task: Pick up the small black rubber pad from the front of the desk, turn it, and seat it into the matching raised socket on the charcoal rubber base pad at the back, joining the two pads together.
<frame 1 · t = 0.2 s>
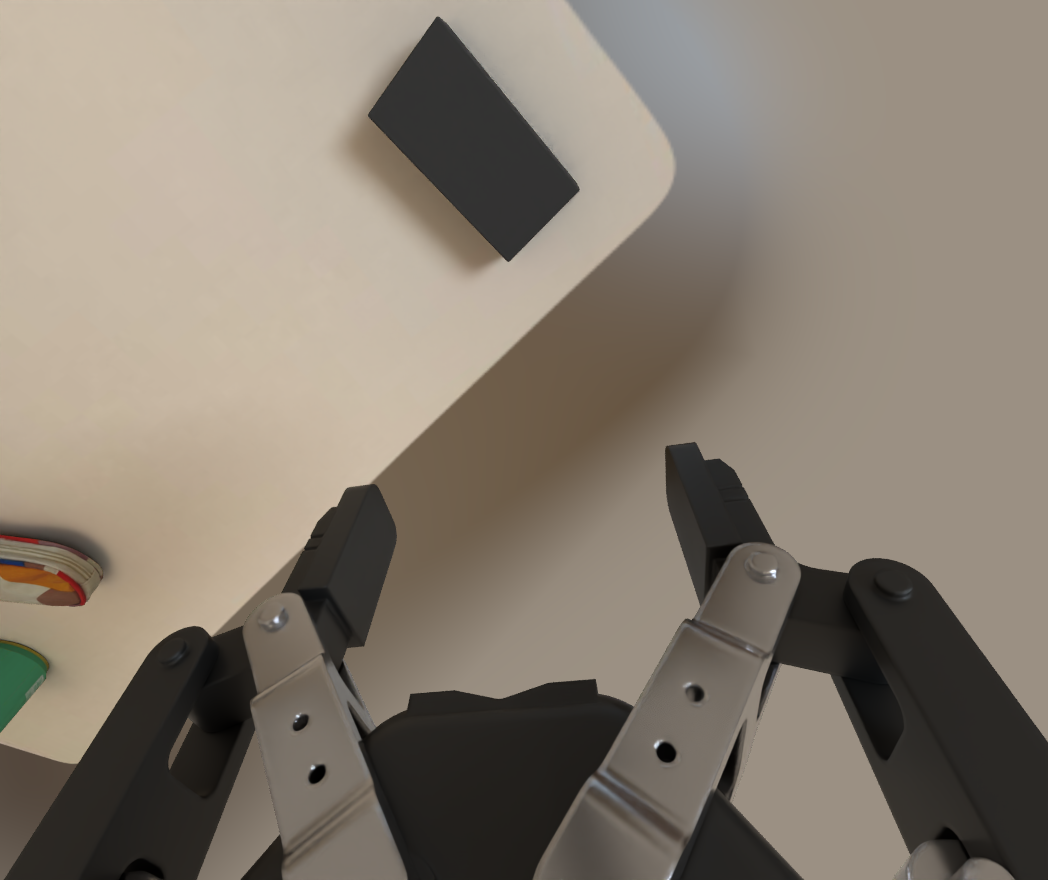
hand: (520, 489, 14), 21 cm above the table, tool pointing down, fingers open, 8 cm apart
pencil case: (0, 543, 47), on the table
black pad: (481, 149, 28), on the table
beverage can: (16, 656, 58), on the table
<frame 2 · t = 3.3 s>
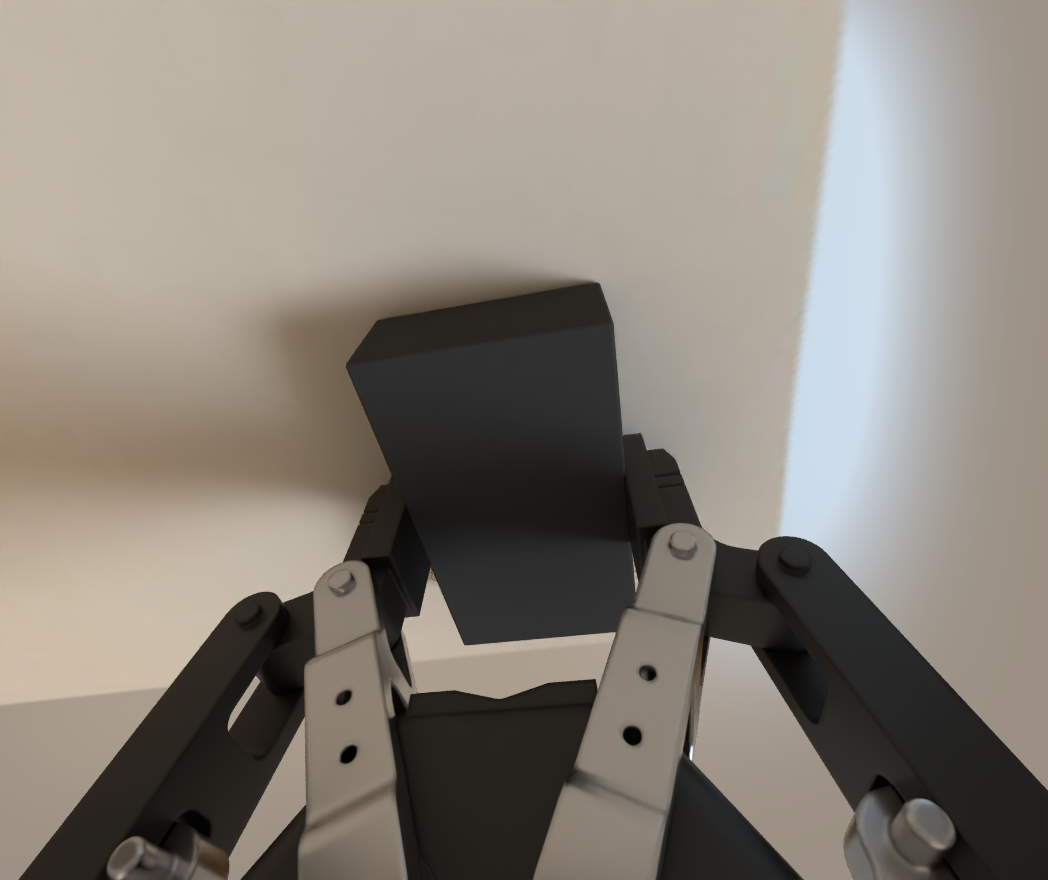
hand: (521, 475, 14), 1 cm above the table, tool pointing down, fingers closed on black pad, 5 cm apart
black pad: (522, 464, 15), on the table, touching gripper
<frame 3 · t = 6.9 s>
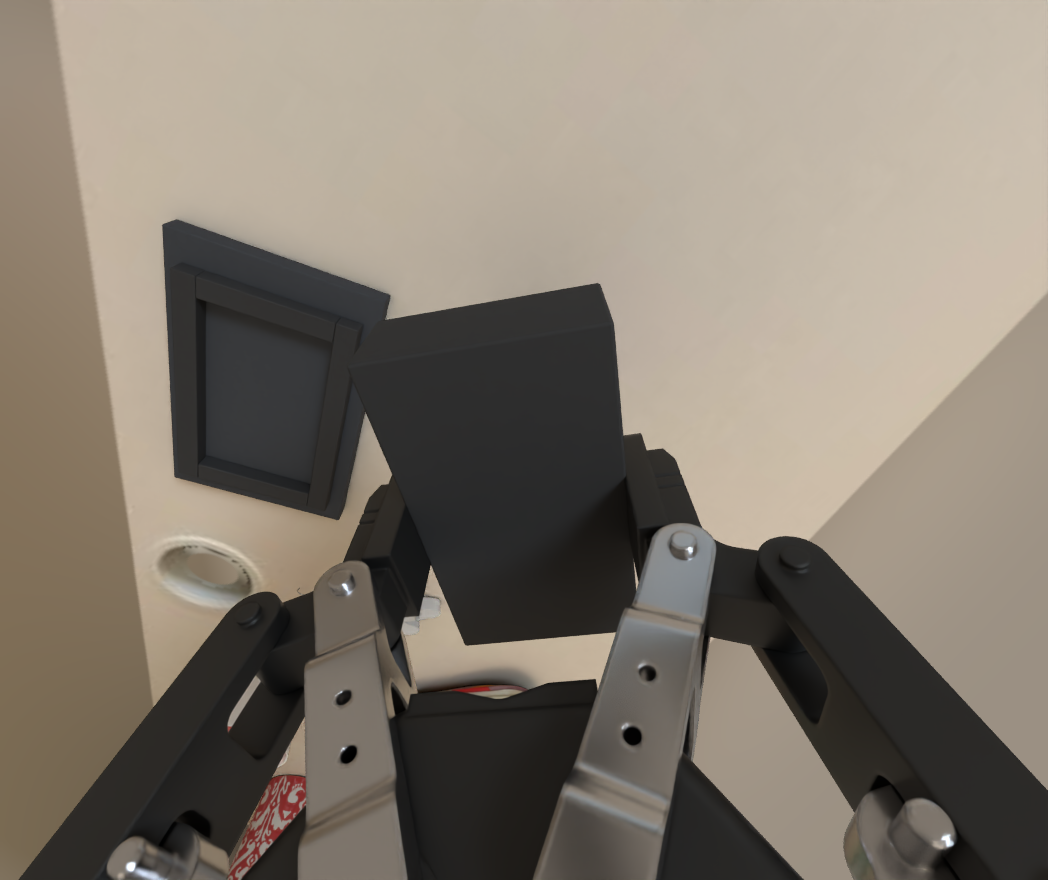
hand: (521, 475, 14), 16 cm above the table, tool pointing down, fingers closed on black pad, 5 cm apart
base pad: (275, 390, 31), on the table
candle: (268, 679, 50), on the table
pencil case: (442, 694, 51), on the table
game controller: (372, 590, 42), on the table
mug: (310, 787, 65), on the table
black pad: (523, 464, 15), point 15 cm above the table, touching gripper
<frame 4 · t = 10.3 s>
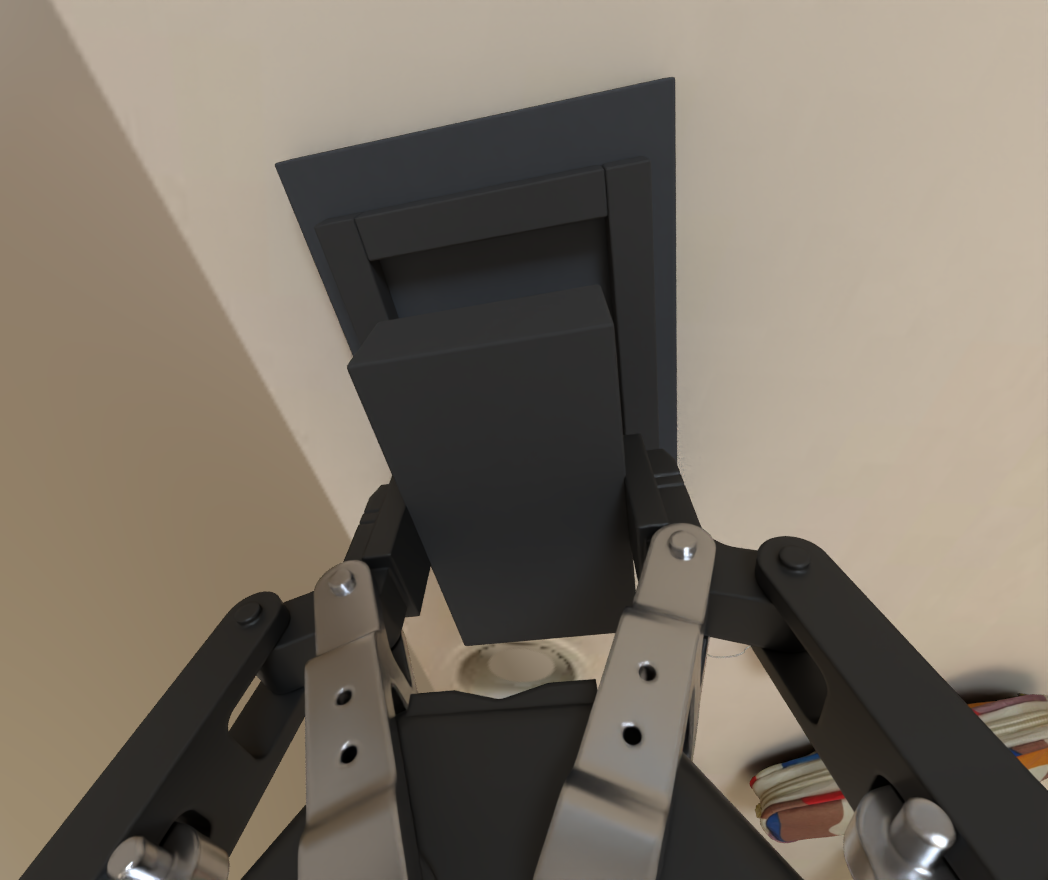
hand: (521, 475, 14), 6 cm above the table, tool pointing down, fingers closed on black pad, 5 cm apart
base pad: (522, 381, 19), on the table
pencil case: (872, 731, 34), on the table
black pad: (522, 465, 15), point 5 cm above the table, touching gripper
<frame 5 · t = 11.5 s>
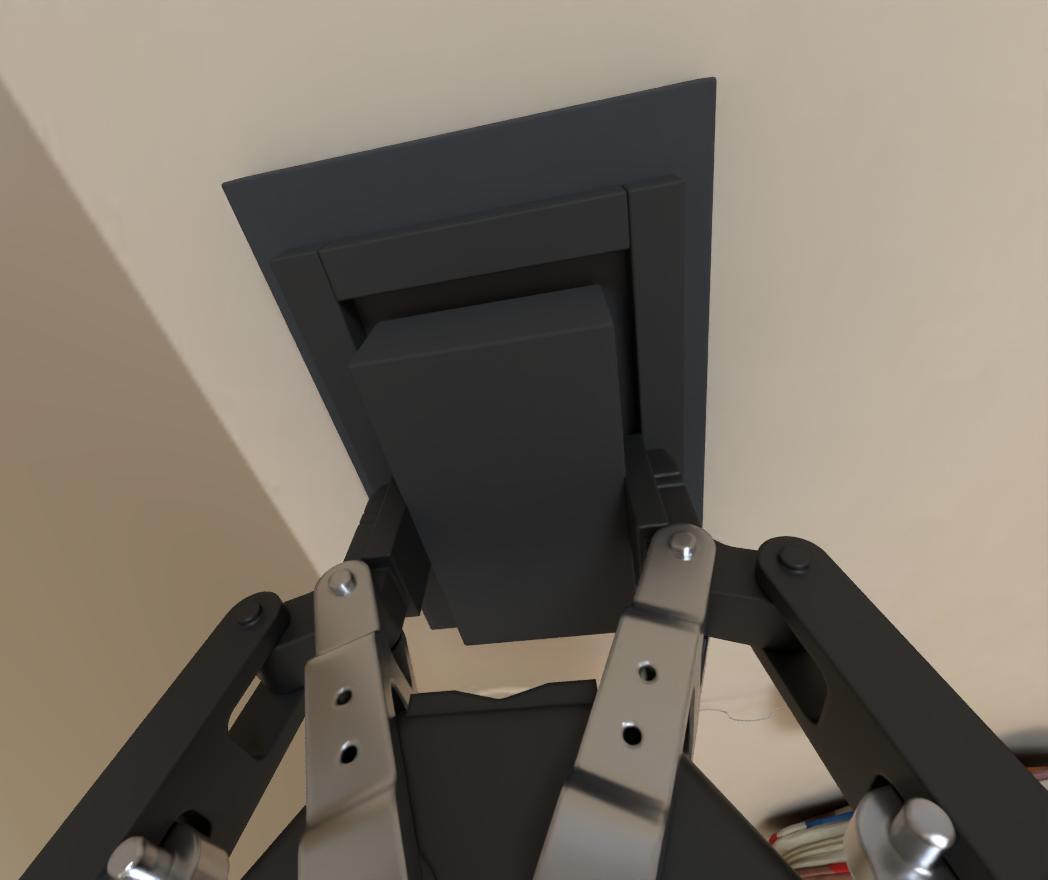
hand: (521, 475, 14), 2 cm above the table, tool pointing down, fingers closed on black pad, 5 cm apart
base pad: (524, 429, 16), on the table
pencil case: (903, 787, 32), on the table
black pad: (522, 465, 15), point 2 cm above the table, touching gripper
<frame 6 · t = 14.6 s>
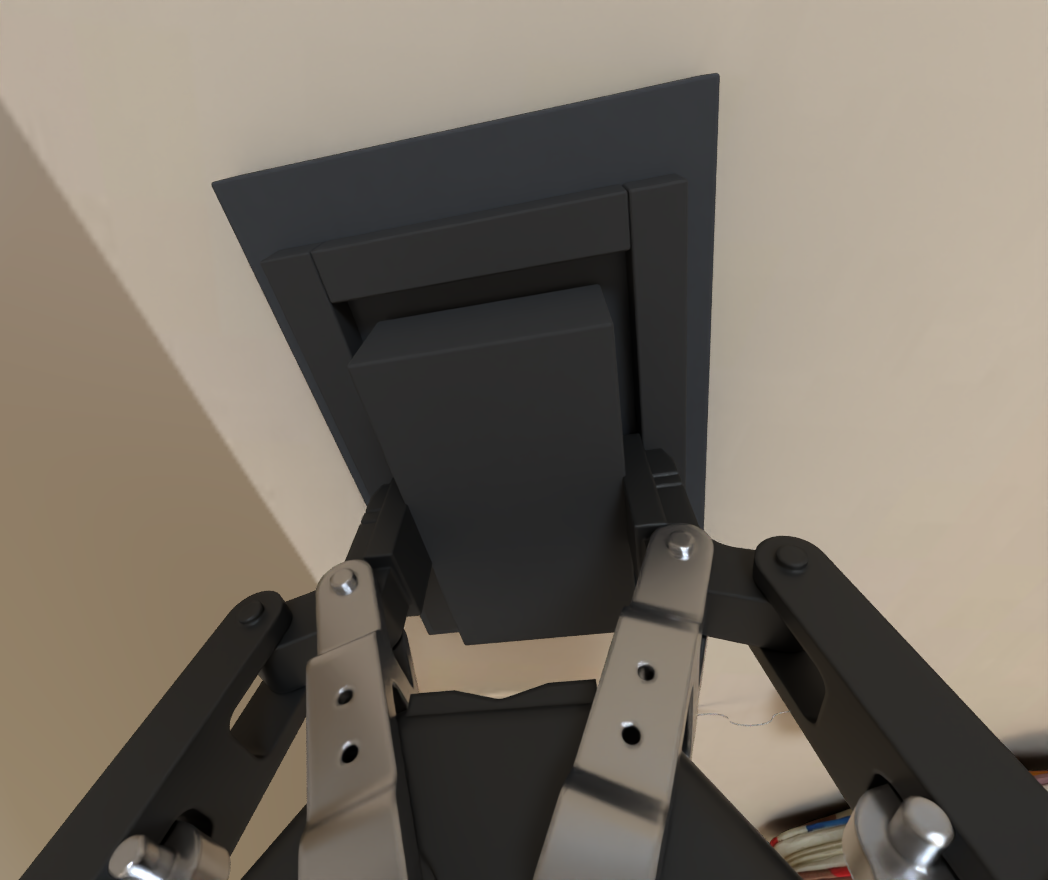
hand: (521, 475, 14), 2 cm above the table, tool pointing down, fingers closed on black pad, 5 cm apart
base pad: (523, 432, 16), on the table
pencil case: (905, 791, 31), on the table
black pad: (522, 464, 15), point 2 cm above the table, touching gripper
when the fingers open (3 cm above the table, at t = 17.3 s): black pad drops 1 cm, resting on base pad.
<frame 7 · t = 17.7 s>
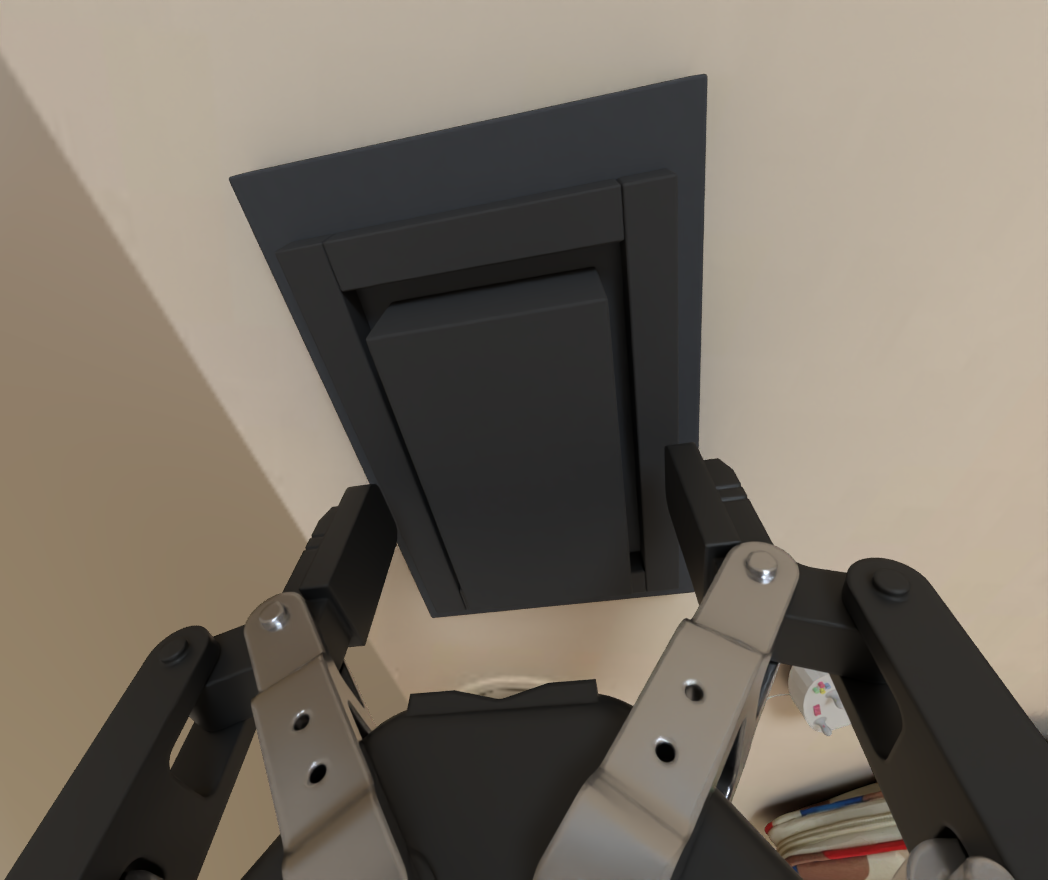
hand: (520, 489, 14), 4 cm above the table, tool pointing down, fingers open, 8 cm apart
base pad: (523, 419, 17), on the table
pencil case: (897, 776, 32), on the table
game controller: (757, 671, 25), on the table
black pad: (524, 439, 16), point 1 cm above the table, touching base pad
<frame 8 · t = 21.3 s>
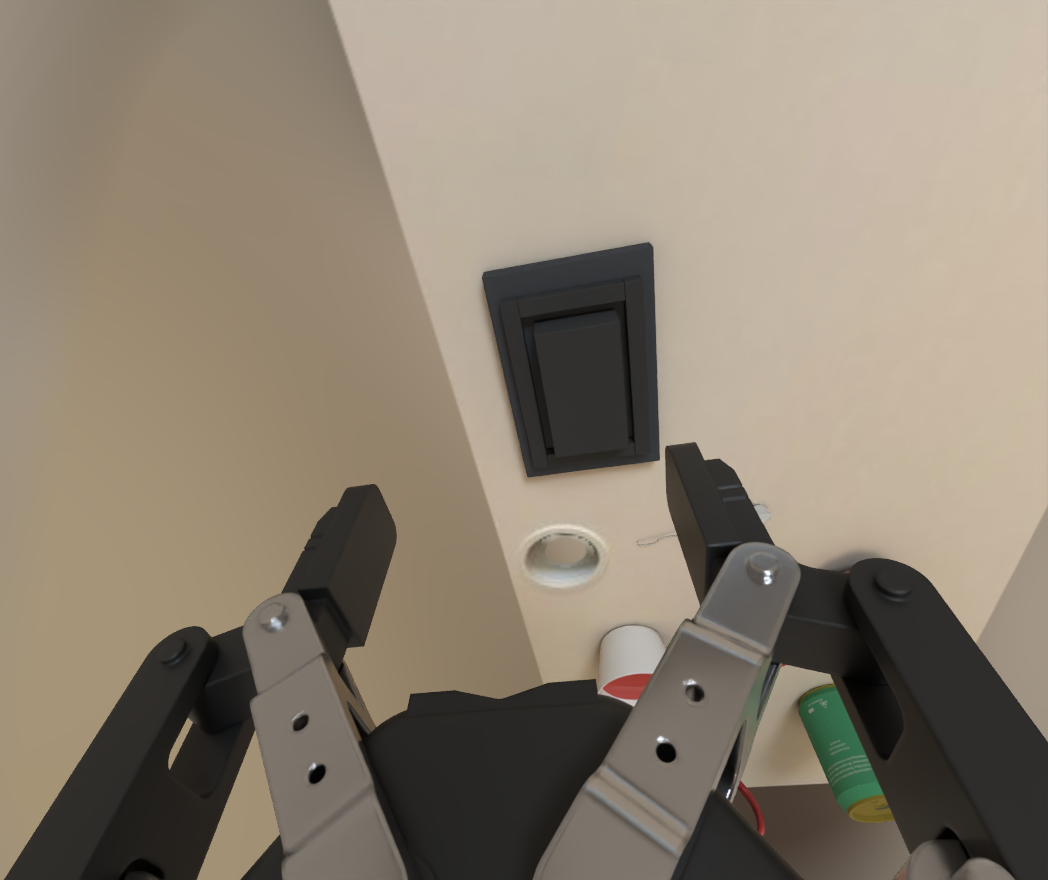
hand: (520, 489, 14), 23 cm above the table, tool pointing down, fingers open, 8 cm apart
base pad: (579, 371, 37), on the table
candle: (630, 640, 57), on the table
mug: (690, 739, 70), on the table
black pad: (581, 379, 36), point 1 cm above the table, touching base pad
beverage can: (827, 697, 63), on the table
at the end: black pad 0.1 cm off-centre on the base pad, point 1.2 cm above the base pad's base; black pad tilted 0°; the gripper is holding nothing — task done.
